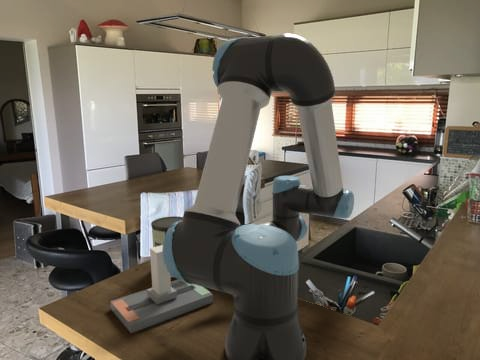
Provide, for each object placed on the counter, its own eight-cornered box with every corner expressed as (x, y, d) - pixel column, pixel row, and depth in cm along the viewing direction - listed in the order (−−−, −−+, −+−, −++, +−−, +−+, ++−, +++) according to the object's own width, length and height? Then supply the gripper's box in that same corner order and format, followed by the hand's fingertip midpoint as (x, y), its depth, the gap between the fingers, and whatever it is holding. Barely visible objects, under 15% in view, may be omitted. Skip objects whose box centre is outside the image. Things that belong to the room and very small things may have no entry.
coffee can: (196, 263, 113) (194, 216, 110) (184, 279, 103) (181, 228, 100) (162, 261, 115) (160, 215, 112) (148, 276, 105) (144, 226, 102)
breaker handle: (177, 297, 89) (174, 249, 87) (156, 304, 86) (153, 255, 84) (167, 289, 93) (164, 243, 91) (147, 295, 90) (144, 248, 88)
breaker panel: (213, 302, 91) (213, 294, 91) (131, 333, 80) (130, 324, 79) (187, 283, 101) (187, 276, 100) (110, 309, 89) (110, 300, 88)
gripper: (291, 266, 97) (220, 292, 84) (232, 238, 116) (168, 256, 104) (292, 237, 95) (219, 260, 83) (232, 214, 115) (166, 229, 102)
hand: (190, 258), depth 93 cm, fingers open, 13 cm apart
